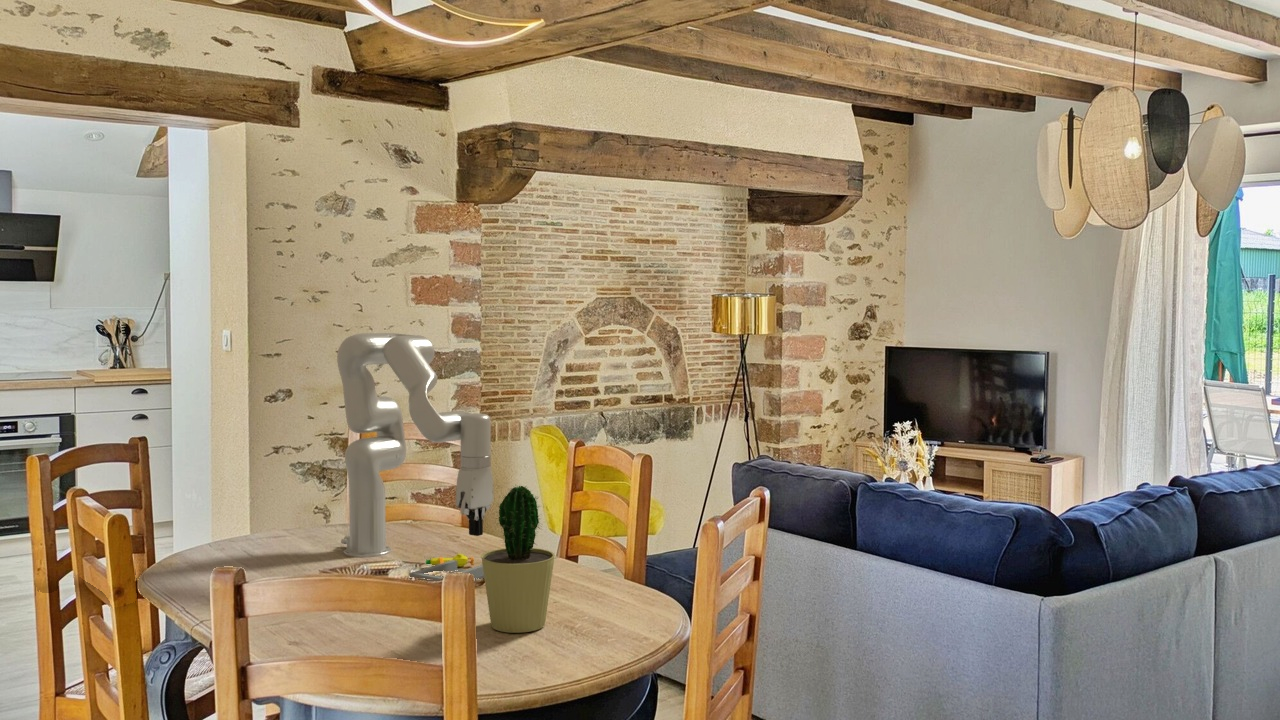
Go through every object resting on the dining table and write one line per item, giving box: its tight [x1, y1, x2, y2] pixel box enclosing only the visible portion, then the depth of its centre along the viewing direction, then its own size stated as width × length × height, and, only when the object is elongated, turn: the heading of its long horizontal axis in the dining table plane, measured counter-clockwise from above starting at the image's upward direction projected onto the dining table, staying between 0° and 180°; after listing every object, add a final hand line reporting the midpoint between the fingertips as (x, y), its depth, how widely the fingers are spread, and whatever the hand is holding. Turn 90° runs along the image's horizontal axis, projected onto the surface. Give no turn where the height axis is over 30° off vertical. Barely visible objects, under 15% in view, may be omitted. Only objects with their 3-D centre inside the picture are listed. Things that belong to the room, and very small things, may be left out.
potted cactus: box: [480, 485, 555, 634], centre depth 222 cm, size 15×15×30 cm
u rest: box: [408, 560, 484, 583], centre depth 258 cm, size 12×16×3 cm
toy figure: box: [425, 553, 475, 568], centre depth 271 cm, size 7×4×12 cm
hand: (475, 534), depth 267 cm, fingers closed
